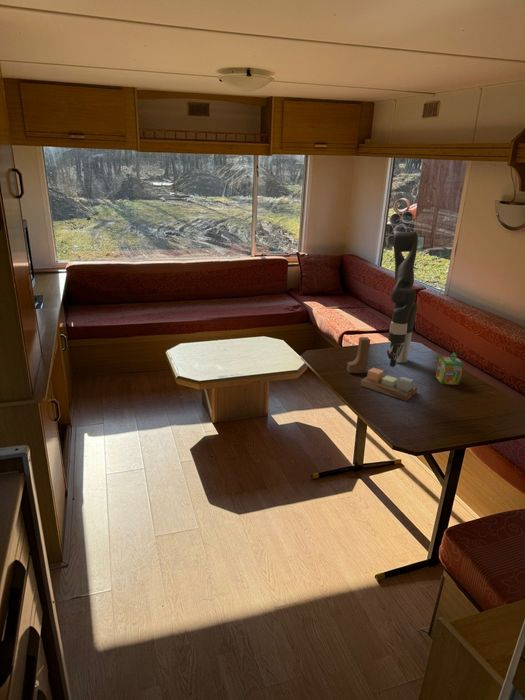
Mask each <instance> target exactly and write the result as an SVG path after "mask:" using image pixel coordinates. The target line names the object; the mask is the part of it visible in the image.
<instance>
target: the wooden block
mask: <svg viewBox="0 0 525 700" xmlns="http://www.w3.org/2000/svg"><path fill="white" fill-rule="evenodd" d="M357 344H358V345H357V353H356V357H355V358H354V360H352V361H347V366H346V371H347V372H348V374H366V373H367V367H368V366H367V365H368V359H369V353H370V344H371V339H370V338H369V337H367V336H366V337H364V336H363V337H362V336H361V337H360V336H359V339H358V343H357Z"/></svg>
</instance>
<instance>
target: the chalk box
mask: <svg viewBox="0 0 525 700" xmlns="http://www.w3.org/2000/svg"><path fill="white" fill-rule="evenodd" d="M438 359H439V360H438V365H437V368H436V371H435V372H436V373H435V376H434V377H435V378H436V379H437V381H438V382H439V383H440V384H441V385H451V386H452V385H453V386H460V382H461V379H462V378H461V377H462V374H463V373H462V372H463V369H464V363H463V361H461V359H460V358H458V355H457V354H456V353H455V352H452V353H451V355H450V356H439V357H438Z"/></svg>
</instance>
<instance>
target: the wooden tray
mask: <svg viewBox="0 0 525 700" xmlns="http://www.w3.org/2000/svg"><path fill="white" fill-rule="evenodd" d="M384 377H385V376H384V375H383V378H384ZM381 382H382V380H381V381H380V382H378V383H377V382H374V381H371V380H368V379H367V376H365V377H364V378H362V379H361V380H360V386H361V387H364V388H366V389H369V390H373V391H376V392H379V393H381V394H384V395H387V396H391V397H393V398H397V399H399V400H401V401H404V402H407V401H408V400H410V399H411V398H412V397H413V396H414V395H416V394H417V392H418V386H416V385H413V386H412V390H411V391H409V392H405V391H402V390H399V389H396V386H397V385H396V386H394V387H389V386H386V385H383V384H381Z"/></svg>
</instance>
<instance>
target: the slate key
mask: <svg viewBox="0 0 525 700" xmlns="http://www.w3.org/2000/svg"><path fill="white" fill-rule="evenodd" d="M397 379H398V380H397V386H396V389H399V390H402V391H405V392H409V391H411V390H412V386H414V379H412V378H409V377H405V376H401V377H399V378H397Z"/></svg>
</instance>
